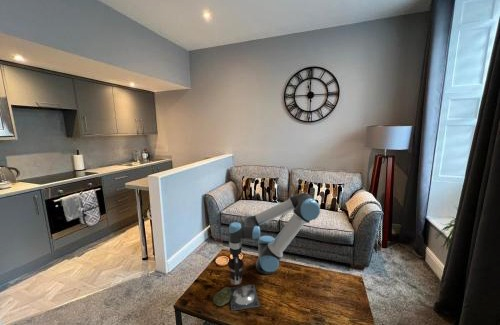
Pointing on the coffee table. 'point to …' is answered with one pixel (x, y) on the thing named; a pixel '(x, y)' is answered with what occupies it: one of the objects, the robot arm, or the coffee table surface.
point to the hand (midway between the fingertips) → (236, 276)
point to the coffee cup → (232, 271)
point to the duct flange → (243, 297)
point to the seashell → (222, 297)
